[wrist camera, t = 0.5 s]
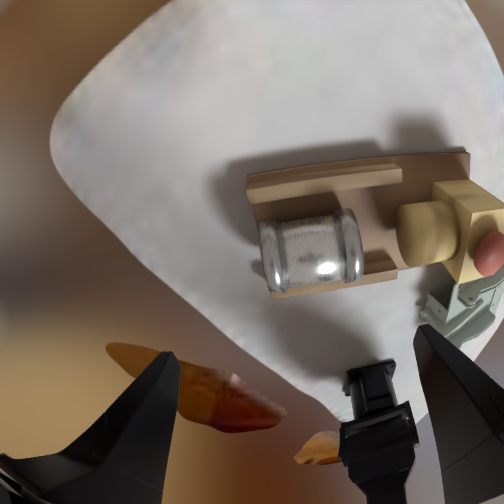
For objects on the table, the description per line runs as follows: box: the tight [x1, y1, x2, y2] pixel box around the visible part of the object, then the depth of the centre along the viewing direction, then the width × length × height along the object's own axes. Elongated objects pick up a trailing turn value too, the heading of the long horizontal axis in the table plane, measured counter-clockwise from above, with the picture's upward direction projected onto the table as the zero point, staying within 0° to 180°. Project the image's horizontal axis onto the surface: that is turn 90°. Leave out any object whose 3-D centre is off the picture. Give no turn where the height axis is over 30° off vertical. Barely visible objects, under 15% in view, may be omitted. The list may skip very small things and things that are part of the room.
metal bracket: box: [420, 264, 504, 349], centre depth 23 cm, size 14×6×15 cm
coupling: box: [260, 208, 364, 295], centre depth 19 cm, size 5×6×5 cm
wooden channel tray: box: [246, 152, 504, 299], centre depth 17 cm, size 10×18×7 cm, turn 103°
